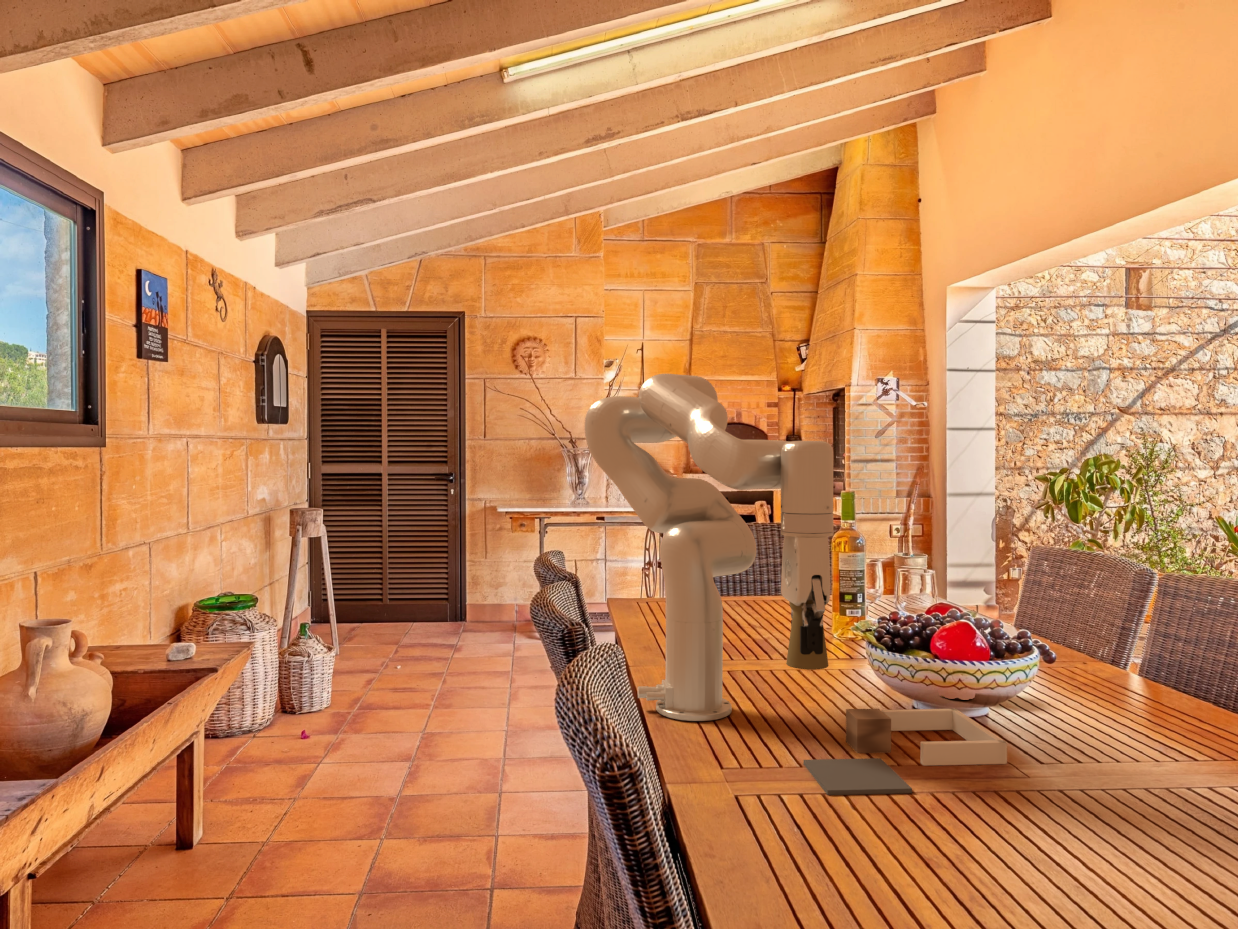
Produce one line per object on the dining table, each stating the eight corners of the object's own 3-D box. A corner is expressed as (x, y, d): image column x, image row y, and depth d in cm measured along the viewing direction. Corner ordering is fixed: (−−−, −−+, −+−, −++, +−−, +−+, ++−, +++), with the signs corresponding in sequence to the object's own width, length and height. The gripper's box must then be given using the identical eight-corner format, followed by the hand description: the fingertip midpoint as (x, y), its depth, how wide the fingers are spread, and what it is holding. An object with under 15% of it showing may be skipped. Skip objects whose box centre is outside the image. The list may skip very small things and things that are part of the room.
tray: (923, 765, 122) (923, 744, 122) (881, 729, 138) (881, 709, 138) (1006, 763, 123) (1007, 742, 123) (955, 727, 139) (955, 708, 139)
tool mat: (827, 795, 112) (827, 790, 112) (803, 764, 123) (803, 759, 123) (912, 793, 113) (912, 788, 113) (880, 762, 124) (880, 758, 124)
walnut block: (857, 753, 127) (857, 719, 127) (845, 742, 132) (846, 709, 132) (890, 753, 128) (891, 718, 128) (878, 741, 133) (878, 708, 133)
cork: (829, 670, 125) (829, 593, 125) (786, 668, 127) (786, 592, 127) (827, 660, 131) (828, 587, 131) (786, 659, 133) (786, 586, 132)
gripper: (767, 521, 137) (767, 638, 137) (797, 530, 120) (796, 664, 120) (815, 520, 137) (815, 638, 138) (851, 529, 121) (850, 663, 121)
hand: (806, 648), depth 129 cm, fingers closed on cork, 4 cm apart
